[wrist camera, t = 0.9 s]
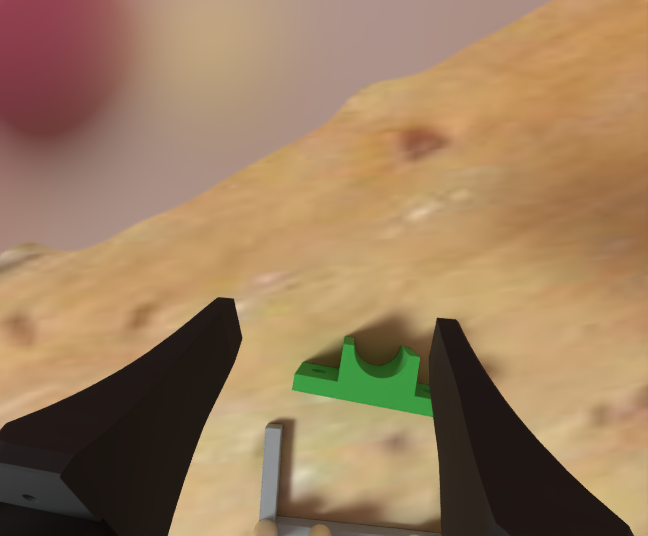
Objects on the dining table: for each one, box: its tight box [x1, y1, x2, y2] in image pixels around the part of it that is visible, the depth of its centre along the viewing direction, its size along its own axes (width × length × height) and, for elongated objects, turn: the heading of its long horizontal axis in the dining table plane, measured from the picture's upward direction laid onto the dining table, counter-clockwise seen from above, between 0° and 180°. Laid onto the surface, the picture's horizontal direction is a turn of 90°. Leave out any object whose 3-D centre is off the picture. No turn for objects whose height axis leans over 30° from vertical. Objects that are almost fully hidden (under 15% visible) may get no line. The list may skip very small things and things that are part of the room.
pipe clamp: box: [292, 336, 433, 417], centre depth 27 cm, size 11×4×5 cm, turn 80°
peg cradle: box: [252, 423, 441, 536], centre depth 27 cm, size 8×17×4 cm, turn 86°
